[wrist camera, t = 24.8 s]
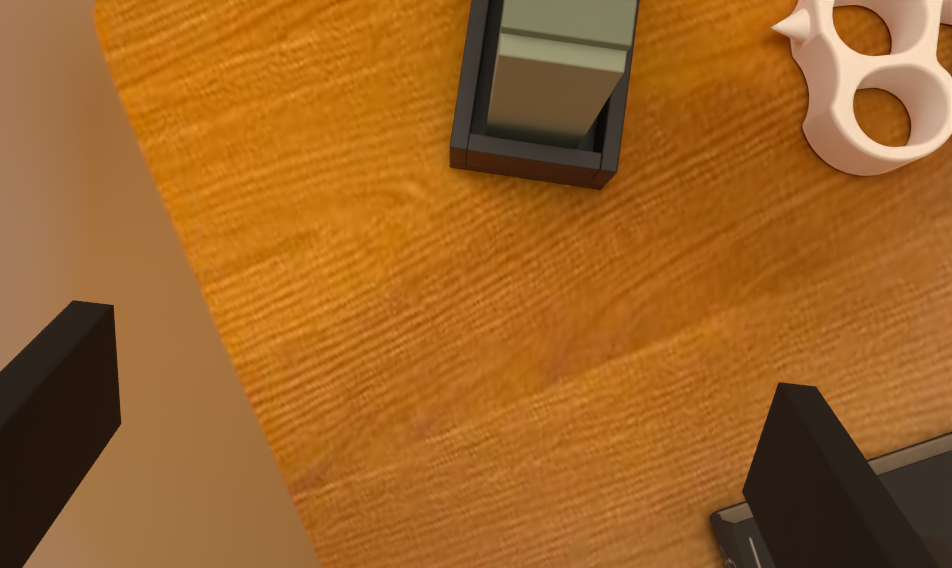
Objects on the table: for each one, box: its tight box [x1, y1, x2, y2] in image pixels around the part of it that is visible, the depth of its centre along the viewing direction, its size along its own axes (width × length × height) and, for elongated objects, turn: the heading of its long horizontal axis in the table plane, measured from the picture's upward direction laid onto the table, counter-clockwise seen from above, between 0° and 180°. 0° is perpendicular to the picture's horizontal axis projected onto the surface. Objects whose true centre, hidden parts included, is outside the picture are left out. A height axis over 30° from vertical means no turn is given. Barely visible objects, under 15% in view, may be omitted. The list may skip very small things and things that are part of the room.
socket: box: [450, 0, 640, 190], centre depth 39 cm, size 8×11×4 cm
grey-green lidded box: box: [485, 0, 637, 149], centre depth 34 cm, size 5×8×12 cm, turn 172°
